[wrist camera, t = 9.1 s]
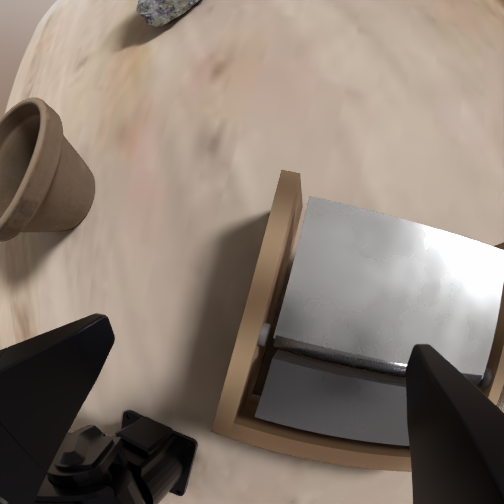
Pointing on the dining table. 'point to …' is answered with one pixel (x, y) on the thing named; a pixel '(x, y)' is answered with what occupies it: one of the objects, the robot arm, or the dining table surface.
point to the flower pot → (40, 173)
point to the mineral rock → (163, 10)
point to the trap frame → (254, 344)
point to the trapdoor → (375, 319)
